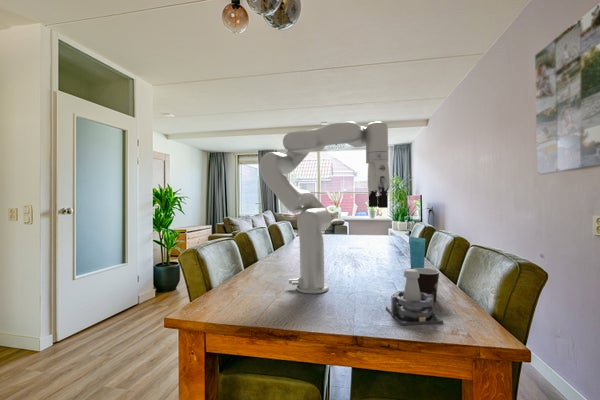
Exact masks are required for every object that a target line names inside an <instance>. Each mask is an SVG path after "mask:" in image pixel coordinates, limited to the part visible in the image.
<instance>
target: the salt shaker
mask: <svg viewBox="0 0 600 400" xmlns="http://www.w3.org/2000/svg"><path fill="white" fill-rule="evenodd" d="M403 276H404V278H405V280H406V281H405V285H404V290H403V291H404V295H403V296H402V299H406V300H411V301H422V299H421V294H420V290H419V285H418V280H417V279H418V278H419V272H418V271H417V270H415V269H411V268H409V269H408V268H407V269H405V270H404V272H403ZM402 306H403V308H404V309H405V310H409V311H413V312H414V311H421V310H422V308H423V307H417V308H413V307H409V306H404V305H402Z"/></svg>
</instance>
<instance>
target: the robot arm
mask: <svg viewBox="0 0 600 400" xmlns="http://www.w3.org/2000/svg"><path fill="white" fill-rule="evenodd" d="M342 144H347V145H350V146H351V147H353V148H362V147H365V163H366V164H368V165H367V189H368V207H370V208H378V209H379V208H380V209H386V208H388V206H389V203H388V202H389V201H388V196H389V192H388V191H389V190H390V188H391V187H390V185H391V182H390V181H391V180H390V169H389V128H388V124H387V123H386V122H384V121H374V122H370V123H368V124H367V125H366V126H361V125H360V124H358V123H357V122H355V121H341V122H333V123H328V124H326V125H323V126H320V127H318V128H312V129H304V130H303V129H302V130H295V131H289V132H287V133H286V134H285V135H284V136H283V138H282V145H283V148H284V149H285V150H286V152H285V153H282V152H276V151H269V152H266V153H265V154H263V155H262V156H261V159H260V161H259V172H260V176H261V178H262V180H263V182H264V183H265V185H266V186H267V187H268V188H269V189H270V190H271V192H273V194H274V195H275V196H276V197H277V199H278V200H279V201H280V202H281V203H282V204H283V206H284V207H285V209H287V210H288V212H291V213H295V214H296V213H299V214H298V215H297V220H296V221H297V222H296V225H297V226H296V227H297V232H298V238H299V240H298V242H299V276H298V277H297V278H289V279H288V284H289V285H291V286H296V290H297V291H298V292H300V293H301V294H302V293H303V294H310V295H311V294H312V295H313V294H321V293H325V292H327V291H328V290H329V284H327V283H326V282H325V245H324V237H323V232H322V231H325V230H327V229H329V227H330V226H331V225H332V215H331V212H329V210H328V209H327V207H325V206H324V204H323V203H322V202H321V201H320V200H319V199H318V197H317V196H315V194H314V193H312V192H311V191H309V190H306V189H299V188H298V187H296V185H295V184H294V183H293V182H292V181H291V180H290V179H289V178H288V177H287V176H286V174H291V173H292V172H293V171H294V170H295V169H296V168H298V166H299V165H300V164H301V163H302V162H303V161H304V159H305V158H306V157H307V156H308V155H309V153H310V152H319V151H323V150H324V149H325V148H326V147H328V146H332V145H342ZM377 194H378V195H377Z"/></svg>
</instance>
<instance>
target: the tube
mask: <svg viewBox="0 0 600 400" xmlns="http://www.w3.org/2000/svg"><path fill="white" fill-rule="evenodd" d="M426 240H427V239H426V238H423V237H417V236H416V237H415V236H408V243H409V257H410V269H414V268H425V259H426V257H425V254H426V253H425V252H426V251H425V249H426Z"/></svg>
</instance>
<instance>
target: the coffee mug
mask: <svg viewBox="0 0 600 400" xmlns="http://www.w3.org/2000/svg"><path fill="white" fill-rule="evenodd" d="M414 269H415V270H417V271H418V272H419V278H418V279H417V280H418V285H419V290H420V292H423V293H426V294H432V295H434V303H436V301H437V296H438V295H437V294H438V287H439V277H440V271H439V270H437V269H434V268H427V267H424V268H414ZM421 299H422V301H425V300H424V299H423V298H421Z"/></svg>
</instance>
